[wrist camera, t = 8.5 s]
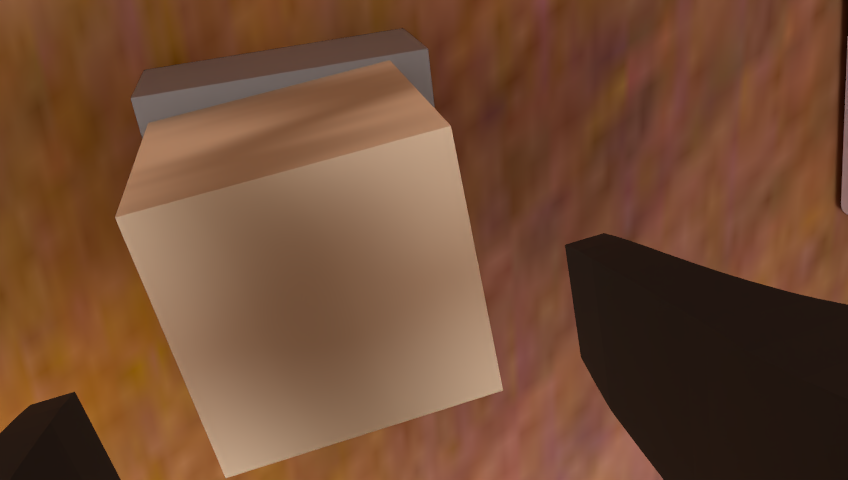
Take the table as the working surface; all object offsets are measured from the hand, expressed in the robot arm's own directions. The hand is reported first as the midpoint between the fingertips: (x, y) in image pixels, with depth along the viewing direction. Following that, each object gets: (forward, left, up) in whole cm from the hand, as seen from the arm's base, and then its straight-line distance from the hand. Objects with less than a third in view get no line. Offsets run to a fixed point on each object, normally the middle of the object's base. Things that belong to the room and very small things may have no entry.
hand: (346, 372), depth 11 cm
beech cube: (0, 0, -6) cm, 6 cm away
